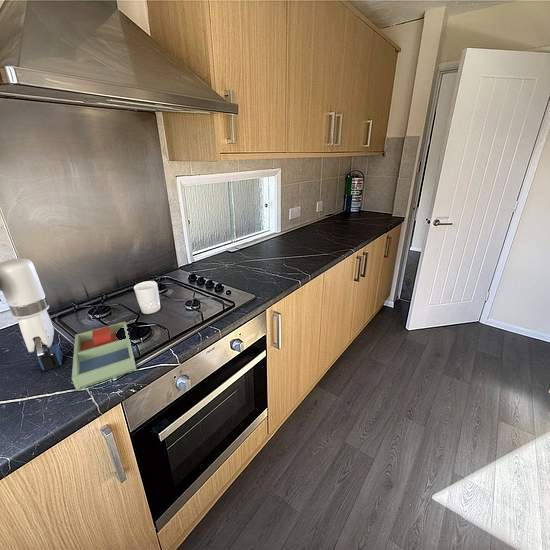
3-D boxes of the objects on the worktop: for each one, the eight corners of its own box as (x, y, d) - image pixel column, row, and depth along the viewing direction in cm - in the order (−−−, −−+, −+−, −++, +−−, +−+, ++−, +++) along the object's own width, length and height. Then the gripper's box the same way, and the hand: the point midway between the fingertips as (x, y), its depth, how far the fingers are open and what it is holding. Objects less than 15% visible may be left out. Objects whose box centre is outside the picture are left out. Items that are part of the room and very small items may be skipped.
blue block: (42, 370, 80) (37, 357, 78) (44, 361, 84) (39, 348, 82) (61, 364, 82) (56, 351, 80) (62, 356, 86) (58, 343, 84)
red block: (96, 350, 86) (92, 338, 84) (96, 342, 90) (92, 330, 88) (113, 345, 88) (109, 333, 86) (112, 338, 92) (108, 326, 90)
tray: (76, 390, 73) (71, 378, 71) (78, 345, 91) (75, 334, 89) (136, 369, 79) (133, 358, 78) (127, 331, 97) (125, 321, 95)
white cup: (161, 302, 114) (156, 279, 111) (162, 312, 108) (157, 287, 104) (140, 306, 112) (134, 283, 108) (139, 316, 105) (133, 291, 101)
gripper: (18, 297, 81) (40, 351, 88) (3, 325, 67) (31, 386, 74) (50, 290, 84) (70, 343, 91) (43, 316, 71) (66, 375, 78)
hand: (52, 362), depth 83 cm, fingers closed on blue block, 4 cm apart
